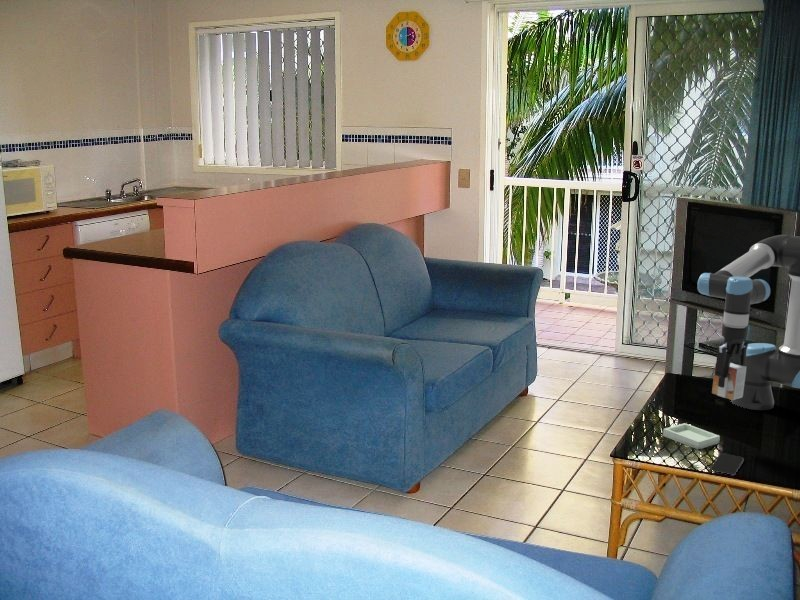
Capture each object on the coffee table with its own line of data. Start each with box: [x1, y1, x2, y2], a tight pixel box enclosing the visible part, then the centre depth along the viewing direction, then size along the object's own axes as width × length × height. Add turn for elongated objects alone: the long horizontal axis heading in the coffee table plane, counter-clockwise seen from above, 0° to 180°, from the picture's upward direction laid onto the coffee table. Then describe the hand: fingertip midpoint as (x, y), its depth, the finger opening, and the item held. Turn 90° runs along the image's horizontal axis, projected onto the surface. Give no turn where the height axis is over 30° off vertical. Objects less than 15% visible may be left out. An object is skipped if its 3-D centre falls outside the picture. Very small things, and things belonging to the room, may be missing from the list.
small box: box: [711, 362, 747, 400], centre depth 280 cm, size 8×6×10 cm
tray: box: [662, 422, 721, 450], centre depth 288 cm, size 11×14×2 cm
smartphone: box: [710, 452, 745, 476], centre depth 267 cm, size 7×1×15 cm
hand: (727, 394), depth 281 cm, fingers closed on small box, 6 cm apart
